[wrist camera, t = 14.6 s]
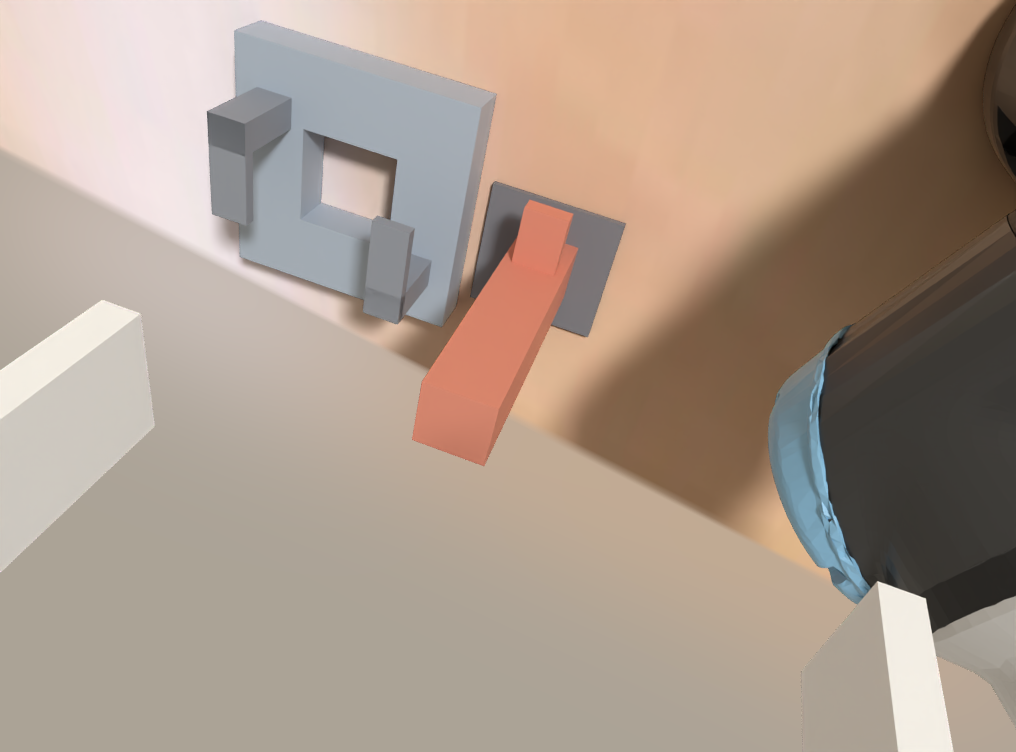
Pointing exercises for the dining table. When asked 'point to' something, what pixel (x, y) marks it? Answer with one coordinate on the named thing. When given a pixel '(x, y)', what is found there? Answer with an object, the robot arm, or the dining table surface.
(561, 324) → the mat
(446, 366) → the orange tabbed bar
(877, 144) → the dining table surface
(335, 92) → the eye block
